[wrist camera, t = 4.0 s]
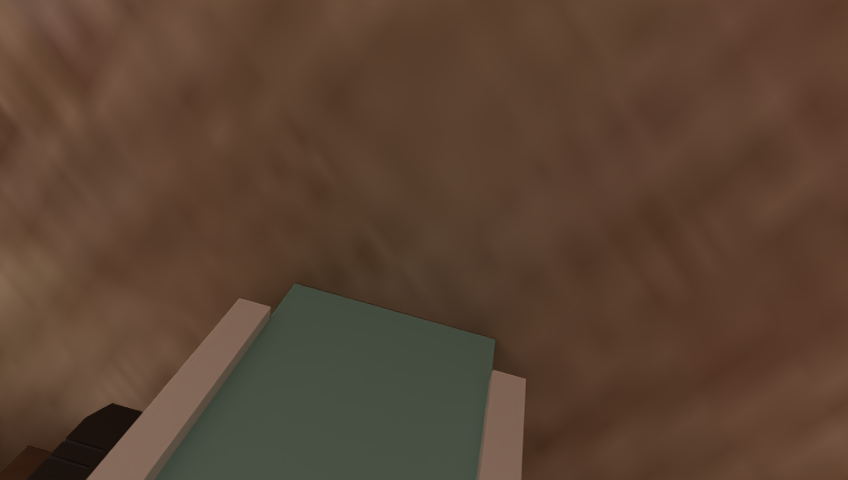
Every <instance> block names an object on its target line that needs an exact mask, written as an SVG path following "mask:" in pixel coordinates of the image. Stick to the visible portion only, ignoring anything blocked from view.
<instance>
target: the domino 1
mask: <svg viewBox="0 0 848 480" xmlns="http://www.w3.org/2000/svg"><path fill="white" fill-rule="evenodd" d="M50 456H51V453H50V452H47V451H44V450H40V449H37V448H34V447H30V446H27V447H26V448H25V449H24V450H23V451H22V452H21V453H20V454H19V455H18V456H17V457H16V458H15V459H14V460H13V461H12V462H11V463H10V464H9V465H8V466H7V467H6V468H5V469H4V470H3V471H2V472H1V473H0V480H27V479H28V478H29V477H30V475H31V474H32V473H33V472H34V471H35V470H36V469H37V468H38V467H39V466H40V465H41V464H42V463H43V462H44V461H45V460H46V459H49V458H50Z"/></svg>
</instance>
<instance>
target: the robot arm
mask: <svg viewBox="0 0 848 480" xmlns="http://www.w3.org/2000/svg"><path fill="white" fill-rule="evenodd" d="M270 311H271V307H270V306H266V305H263V304H259V303H255V302H252V301H248V300H245V299H241V298H239V299H238V300H237V302H236V303H235V304H234V305H233V306H232V307H231V309H230V310H229V311H228V312H227V313H226V315H225V316H224V317H223V318H222V319H221V320H220V322H219V323H218V324H217V325H216V326H215V328H214V329H213V330H212V331H211V332H210V334H209V335H208V336H207V337H206V338H205V339H204V341H203V342H202V343H201V344H200V345H199V347H198V348H197V349H196V350H195V351H194V353H193V354H192V355H191V356H190V357H189V358H188V360H187V361H186V362H185V363H184V364H183V366H182V367H181V368H180V369H179V370H178V371H177V373H176V374H175V375H174V376H173V377H172V379H171V380H170V381H169V382H168V383H167V385H166V386H165V387H164V388H163V389H162V390H161V392H160V393H159V394H158V395H157V396H156V398H155V399H154V400H153V401H152V402H151V403H150V405H149V406H148V407H147V408H146V409H145V411H144V412H141V411H137V410H134V409H130V408H127V407H124V406H120V405H117V404H113V403H112V404H110V405H108V406H106V407H104V408H102V409H101V410H99V411H97V412H95V413H93V414H91V415H90V416H88V417H86V418H85V419H84V420H83V421H82V422H81V423H80V424H79V425H78V426H77V427H76V428H75V429H74V430H73V431H72V432H71V433H70V435H69V436H68V437H67V438H66V441H65V442H62V443H61V444H60V445H59V446H58V447H57V448H56V449H55V450H54V451H53V452H52V453H51V456H50V458H49V459H46V460H45V461H44V462H43V463H42V464H41V465H40V466H39V467H38V468H37V469H36V470H35V471H34V472H33V473H32V474H31V475H30V477H29V478H28V479H27V480H154V479H155V478H156V477H157V475H158V474H159V472H160V471H161V470H162V468H163V467H164V465H165V464H166V463H167V461H168V460H169V459H170V457H171V456H172V454H173V453H174V452H175V450H176V449H177V447H178V446H179V445H180V443H181V442H182V440H183V439H184V438H185V436H186V435H187V434H188V432H189V431H190V429H191V428H192V427H193V425H194V424H195V422H196V421H197V420H198V418H199V417H200V415H201V414H202V413H203V411H204V410H205V408H206V407H207V406H208V404H209V403H210V402H211V400H212V399H213V397H214V396H215V395H216V393H217V392H218V390H219V389H220V388H221V386H222V385H223V383H224V382H225V381H226V379H227V378H228V376H229V375H230V374H231V372H232V371H233V370H234V368H235V367H236V365H237V364H238V363H239V361H240V360H241V358H242V357H243V356H244V354H245V353H246V351H247V350H248V349H249V347H250V346H251V345H252V343H253V342H254V340H255V339H256V338H257V336H258V335H259V333H260V332H261V331H262V329H263V328H264V326H265V325H266V324H267V322H268V321H269V319H270ZM525 388H526V379H525V378H521V377H517V376H514V375H510V374H507V373H503V372H500V371H496V370H493V371H492V374H491V377H490V380H489V385H488V392H487V400H486V408H485V415H484V423H483V431H482V439H481V446H480V454H479V462H478V469H477V477H476V480H521V473H522V452H523V431H524V410H525Z"/></svg>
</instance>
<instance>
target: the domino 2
mask: <svg viewBox="0 0 848 480" xmlns="http://www.w3.org/2000/svg"><path fill="white" fill-rule="evenodd" d="M495 341H496V339H492V338H488V337H485V336H481V335H478V334H474V333H471V332H467V331H463V330H460V329H456V328H453V327H449V326H446V325H442V324H439V323H435V322H431V321H428V320H424V319H421V318H417V317H414V316H410V315H406V314H403V313H399V312H396V311H392V310H389V309H385V308H381V307H378V306H374V305H371V304H367V303H364V302H360V301H356V300H353V299H349V298H346V297H342V296H339V295H335V294H331V293H328V292H324V291H321V290H317V289H314V288H310V287H306V286H303V285H299V284H296V283H294V285H293V286H292V287H291V289H290V290H289V292H288V293H287V294H286V296H285V297H284V298H283V300H282V301H281V303H280V304H279V305H278V307H277V308H276V309H275V311H274V312H273V314H272V315H271V316H270V319H269V321H268V322H267V324H266V325H265V326H264V328H263V329H262V331H261V332H260V333H259V335H258V336H257V338H256V339H255V340H254V342H253V343H252V345H251V346H250V347H249V349H248V350H247V351H246V353H245V354H244V356H243V357H242V358H241V360H240V361H239V363H238V364H237V365H236V367H235V368H234V370H233V371H232V372H231V374H230V375H229V376H228V378H227V379H226V381H225V382H224V383H223V385H222V386H221V388H220V389H219V390H218V392H217V393H216V395H215V396H214V397H213V399H212V400H211V402H210V403H209V404H208V406H207V407H206V408H205V410H204V411H203V413H202V414H201V415H200V417H199V418H198V420H197V421H196V422H195V424H194V425H193V427H192V428H191V429H190V431H189V432H188V434H187V435H186V436H185V438H184V439H183V440H182V442H181V443H180V445H179V446H178V447H177V449H176V450H175V452H174V453H173V454H172V456H171V457H170V459H169V460H168V461H167V463H166V464H165V465H164V467H163V468H162V470H161V471H160V472H159V474H158V475H157V477H156V478H155V479H154V480H476V477H477V469H478V462H479V454H480V446H481V439H482V431H483V423H484V415H485V408H486V400H487V392H488V385H489V380H490V377H491V373H492V365H493V357H494V349H495Z"/></svg>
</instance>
